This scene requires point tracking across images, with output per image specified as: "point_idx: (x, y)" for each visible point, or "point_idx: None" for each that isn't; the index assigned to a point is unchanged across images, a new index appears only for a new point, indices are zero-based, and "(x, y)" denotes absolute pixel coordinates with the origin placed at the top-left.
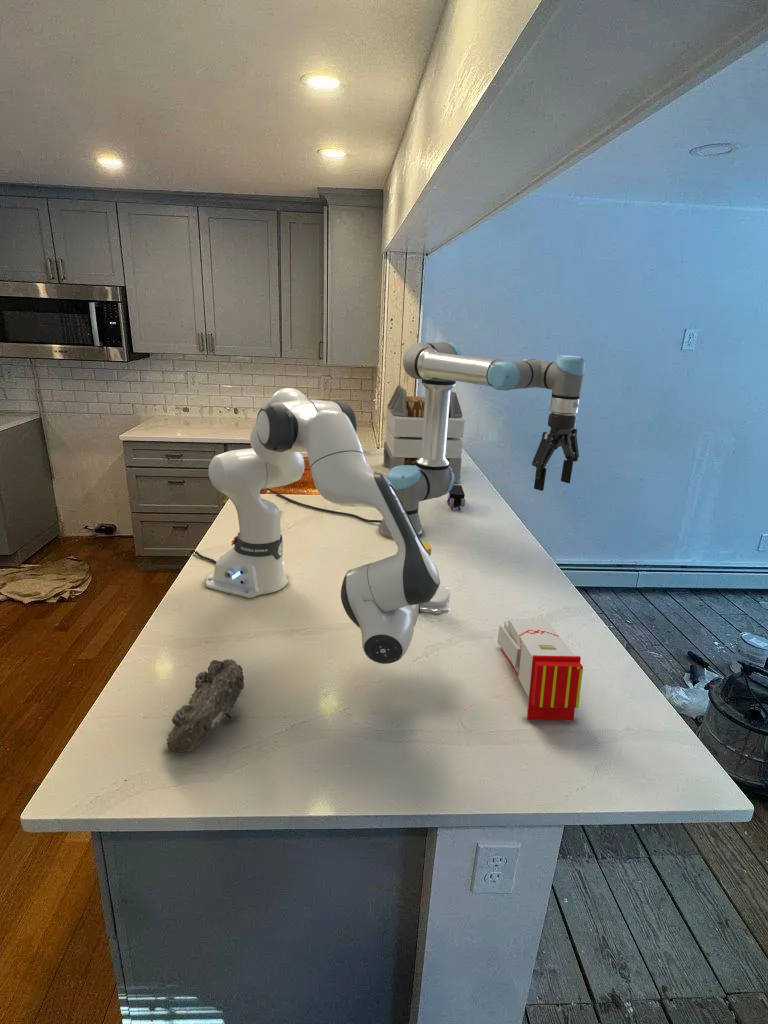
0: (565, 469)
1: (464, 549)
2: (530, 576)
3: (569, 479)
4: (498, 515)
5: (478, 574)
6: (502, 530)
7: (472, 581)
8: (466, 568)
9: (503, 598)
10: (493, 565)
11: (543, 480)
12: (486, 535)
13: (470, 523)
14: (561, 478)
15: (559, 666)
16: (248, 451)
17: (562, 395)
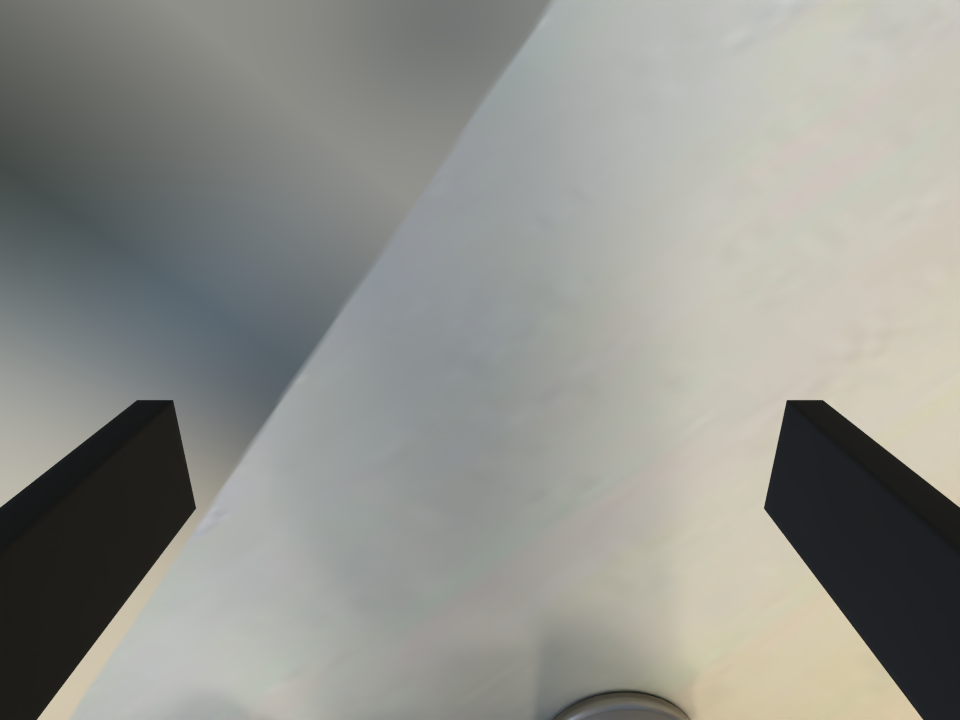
0: (72, 603)
1: (549, 549)
2: (548, 236)
3: (132, 426)
4: (145, 680)
5: (707, 379)
6: (255, 584)
7: (782, 353)
8: (695, 439)
9: (832, 175)
10: (584, 397)
11: (922, 483)
12: (359, 586)
13: (320, 684)
14: (175, 527)
15: None
16: None
17: None
